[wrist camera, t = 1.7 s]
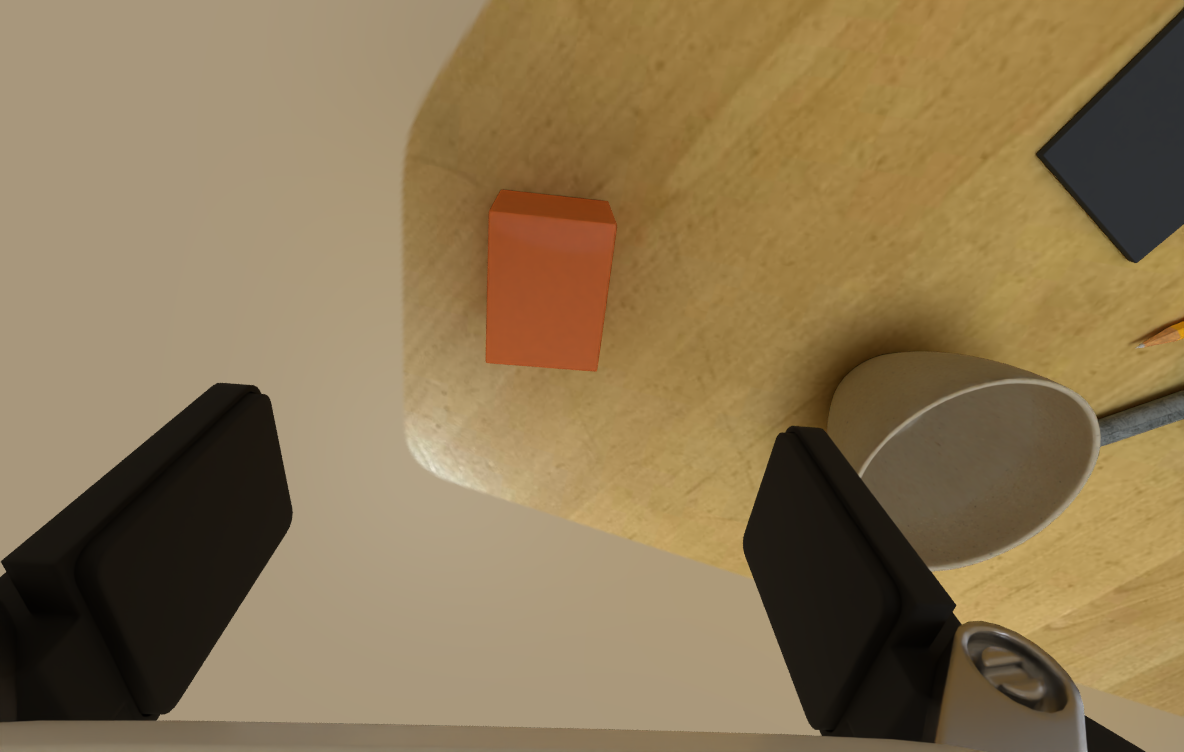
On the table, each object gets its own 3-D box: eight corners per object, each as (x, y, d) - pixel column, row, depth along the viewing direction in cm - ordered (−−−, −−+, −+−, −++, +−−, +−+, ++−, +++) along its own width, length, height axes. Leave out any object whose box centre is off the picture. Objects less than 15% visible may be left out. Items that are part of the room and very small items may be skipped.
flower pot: (905, 485, 31) (992, 589, 25) (752, 448, 29) (804, 549, 23) (1020, 337, 26) (1162, 417, 20) (848, 280, 24) (946, 350, 18)
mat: (1035, 154, 22) (1042, 155, 22) (1205, -13, 20) (1217, -15, 19) (1128, 261, 25) (1136, 263, 24) (1290, 126, 22) (1301, 127, 22)
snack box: (500, 189, 22) (488, 210, 18) (608, 201, 22) (617, 224, 19) (496, 323, 25) (485, 363, 21) (592, 331, 25) (597, 372, 22)
